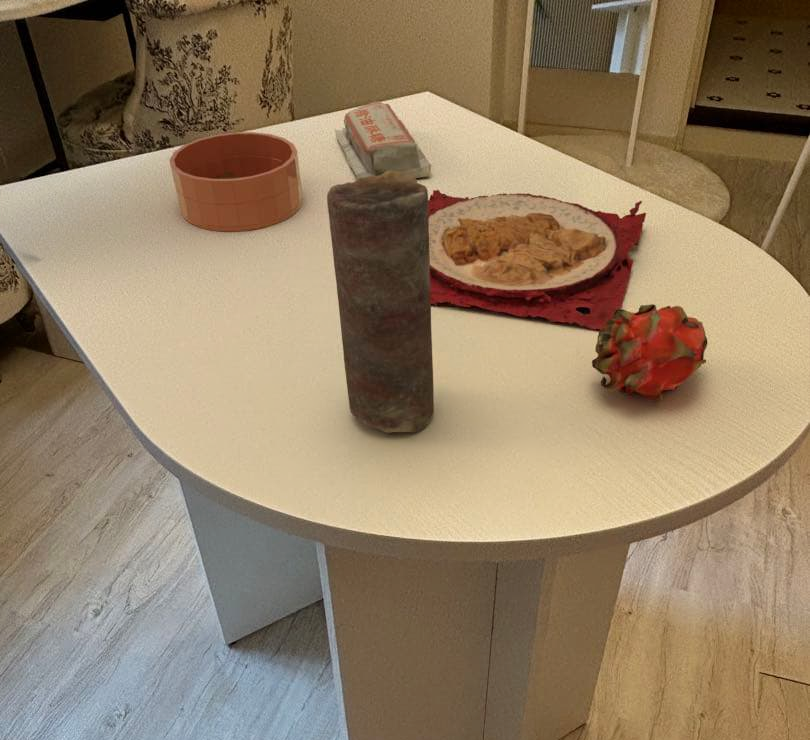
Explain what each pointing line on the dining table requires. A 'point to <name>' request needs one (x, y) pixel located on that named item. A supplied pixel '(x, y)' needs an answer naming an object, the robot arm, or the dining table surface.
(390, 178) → the candle
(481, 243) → the plate with food
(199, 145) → the bowl
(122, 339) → the dining table surface
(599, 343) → the dragon fruit
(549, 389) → the dining table surface
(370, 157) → the packaged product
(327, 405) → the dining table surface
